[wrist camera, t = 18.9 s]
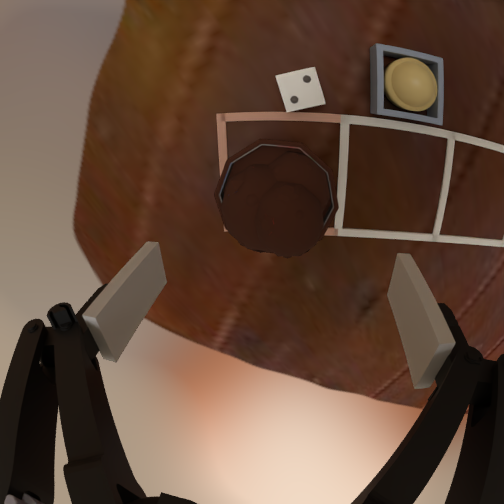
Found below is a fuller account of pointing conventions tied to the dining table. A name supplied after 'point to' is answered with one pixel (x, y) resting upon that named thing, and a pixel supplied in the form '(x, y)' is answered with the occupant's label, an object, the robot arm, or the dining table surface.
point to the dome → (409, 84)
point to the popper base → (378, 82)
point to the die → (300, 89)
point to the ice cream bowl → (277, 197)
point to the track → (343, 164)
